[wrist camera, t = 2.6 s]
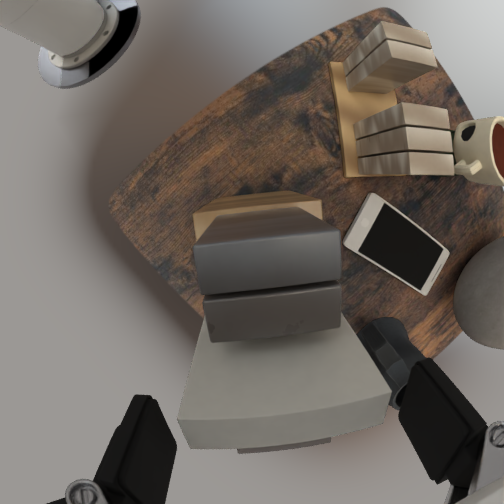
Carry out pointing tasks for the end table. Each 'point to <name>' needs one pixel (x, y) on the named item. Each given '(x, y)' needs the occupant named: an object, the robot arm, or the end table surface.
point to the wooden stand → (267, 270)
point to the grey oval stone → (482, 296)
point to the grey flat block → (280, 390)
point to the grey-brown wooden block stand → (389, 108)
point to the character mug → (479, 150)
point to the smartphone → (396, 244)
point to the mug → (391, 354)
